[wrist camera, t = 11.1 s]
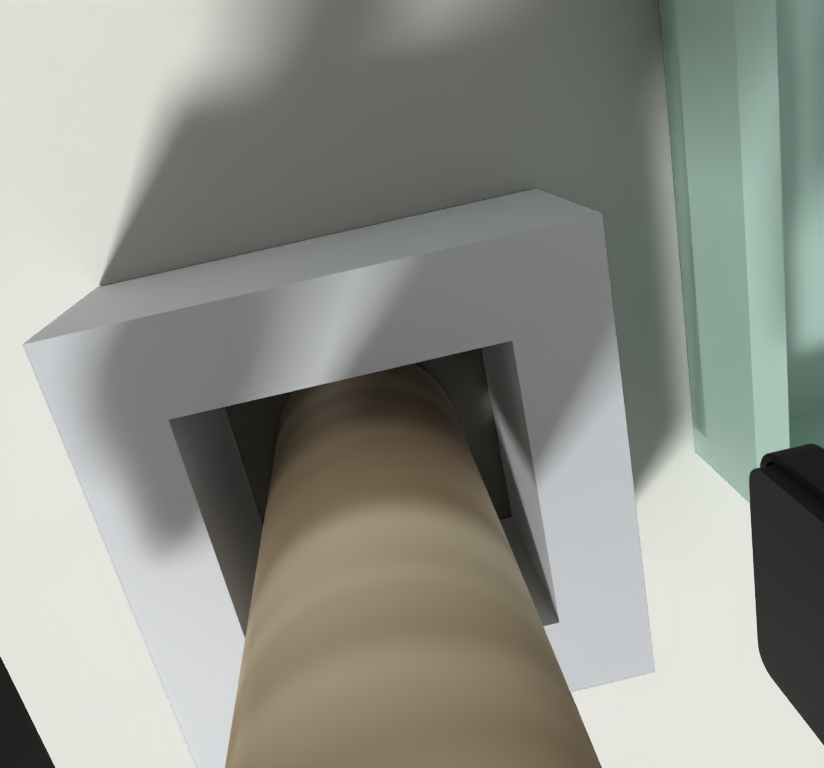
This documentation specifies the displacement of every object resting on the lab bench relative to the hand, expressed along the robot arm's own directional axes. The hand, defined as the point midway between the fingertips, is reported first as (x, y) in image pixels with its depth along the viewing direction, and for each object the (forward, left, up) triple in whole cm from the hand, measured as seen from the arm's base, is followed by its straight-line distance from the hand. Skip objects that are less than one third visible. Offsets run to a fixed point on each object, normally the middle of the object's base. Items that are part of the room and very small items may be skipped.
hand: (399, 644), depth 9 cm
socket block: (0, 0, -6) cm, 6 cm away
